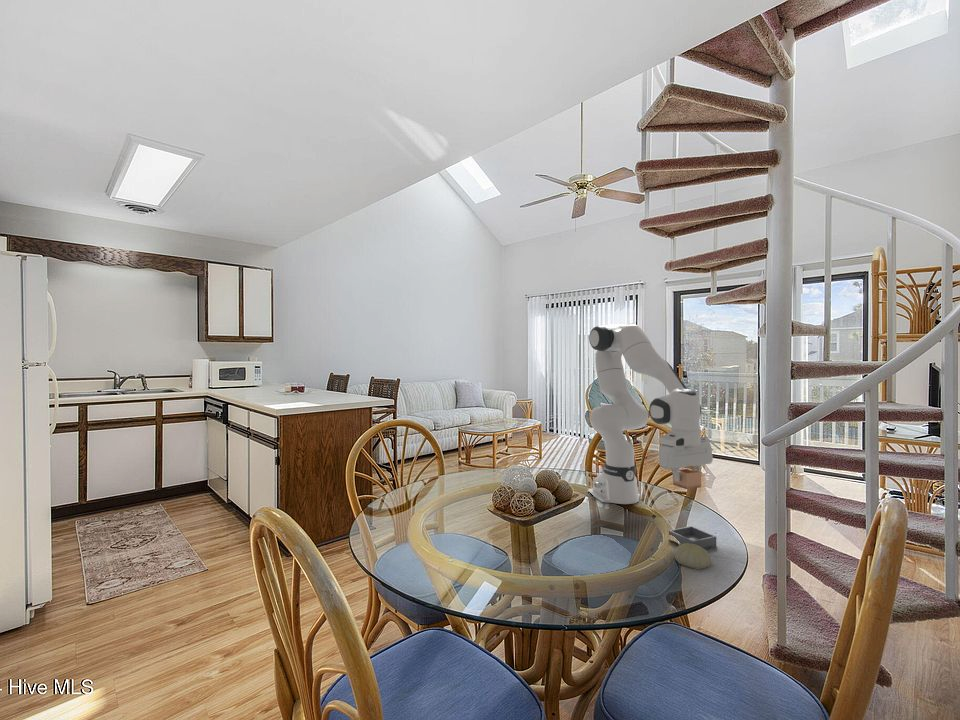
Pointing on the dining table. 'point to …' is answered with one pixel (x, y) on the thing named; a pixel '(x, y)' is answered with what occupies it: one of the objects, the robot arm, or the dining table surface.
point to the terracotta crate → (688, 479)
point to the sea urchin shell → (692, 556)
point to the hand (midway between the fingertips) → (686, 479)
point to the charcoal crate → (694, 537)
